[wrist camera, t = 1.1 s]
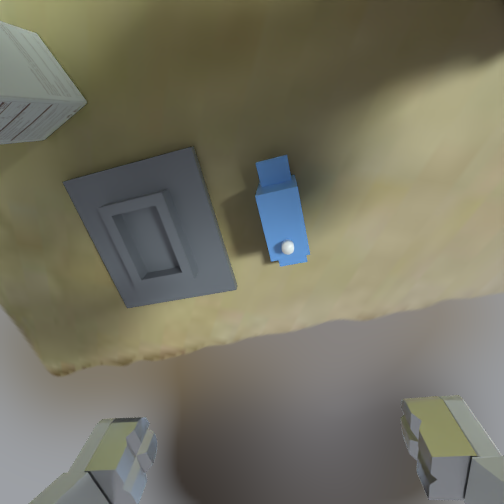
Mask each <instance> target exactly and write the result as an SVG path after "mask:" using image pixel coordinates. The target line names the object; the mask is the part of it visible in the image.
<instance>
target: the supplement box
mask: <svg viewBox="0 0 504 504" xmlns="http://www.w3.org/2000/svg"><path fill="white" fill-rule="evenodd" d="M86 104H87V101H86V100H85V98H84V97H83V96H82V94H81V93H80V91H79V90H78V89H77V87H76V86H75V85H74V83H73V82H72V81H71V79H70V78H69V76H68V75H67V74H66V72H65V71H64V70H63V68H62V67H61V66H60V64H59V63H58V62H57V60H56V59H55V57H54V56H53V55H52V53H51V52H50V51H49V49H48V48H47V47H46V45H45V44H44V43H43V41H42V40H41V38H40V37H39V36H38V34H37V33H34V32H31V31H28V30H25V29H22V28H20V27H17V26H14V25H11V24H8V23H5V22H2V21H0V144H10V143H20V142H31V141H41V140H45V139H46V138H47V137H48V136H49V135H51V134H52V133H53V132H54V131H55V130H57V129H58V128H59V127H60V126H61V125H62V124H64V123H65V122H66V121H67V120H68V119H69V118H71V117H72V116H73V115H74V114H75V113H76V112H78V111H79V110H80V109H81V108H82V107H83V106H85V105H86Z"/></svg>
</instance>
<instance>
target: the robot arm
mask: <svg viewBox="0 0 504 504" xmlns="http://www.w3.org/2000/svg"><path fill="white" fill-rule="evenodd" d="M401 409H402V411H403V413H404V415H403V416H402V417H401V428H402V433H403V437H404V440H405V444H406V446H407V448H408V451H409V454H410V455H411V456H412V457H414V458H415V459H416V460H417V473H418V476H419V478H420V480H421V483H422V485H423V488H424V490H425V492H426V495H427V497H428V500H464V503H465V504H504V456H502V454H501V453H500V452H499V450H498V449H497V447H496V446H495V444H494V443H493V441H492V440H491V438H490V437H489V436H488V434H487V433H486V431H485V430H484V428H483V427H482V426H481V424H480V423H479V421H478V420H477V418H476V417H475V416H474V414H473V413H472V411H471V410H470V408H469V407H468V405H467V404H466V403H465V401H464V400H463V399H462V398H461V397H460V396H459V395H453V396H440V397H437V396H433V397H421V398H411V399H410V398H409V399H402V401H401ZM149 424H150V423H149V422H148V420H147V418H146V417H139V418H115V419H102V420H101V421H100V422H99V423H97V425H96V427H95V428H94V430H93V432H92V433H91V435H90V436H89V438H88V440H87V441H86V443H85V445H84V446H83V448H82V450H81V451H80V453H79V455H78V456H77V458H76V460H75V461H74V463H73V465H72V467H71V468H70V470H69V472H68V473H63V474H62V475H61V476H60V477H58V478H57V479H56V480H55V481H54V482H53V483H52V484H51V485H49V487H47V488H46V489H45V490H44V491H43V492H41V493H40V494H39V495H38V496H37V497H36V498H35V499H34V500H32V501H31V502H30V503H29V504H139V502H140V499H141V496H142V493H143V491H144V488H145V485H146V483H147V477H146V472H147V470H148V469H149V468H150V467H151V466H152V465H153V463H154V460H155V457H156V453H157V438H156V436H155V433H154V432H152V431H151V430H150V429H148V426H149Z"/></svg>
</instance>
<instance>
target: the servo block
mask: <svg viewBox="0 0 504 504" xmlns="http://www.w3.org/2000/svg"><path fill="white" fill-rule="evenodd" d="M256 167H257V171H258V175H259V180H260V183H259V185H258V188H257V192H256V195H255V198H256V202H257V206H258V210H259V214H260V218H261V222H262V226H263V230H264V234H265V238H266V242H267V246H268V250H269V254H270V258H271V262H272V261H277V260H279V264H280V266H286V265H291V264H297V263H302V262H307V257H306V255H310V251H309V245H308V240H307V235H306V229H305V224H304V218H303V213H302V208H301V202H300V197H299V191H298V186H297V182H296V179H295V175H292V176H291V173H290V168H289V163H288V158H287V155H283V156H279V157H275V158H271V159H267V160H263V161H259V162H256Z"/></svg>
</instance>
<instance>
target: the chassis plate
mask: <svg viewBox="0 0 504 504" xmlns="http://www.w3.org/2000/svg"><path fill="white" fill-rule="evenodd" d="M63 184H64V186H65V188H66V190H67V192H68V194H69V196H70V198H71V200H72V202H73V204H74V206H75V208H76V209H77V211H78V213H79V215H80V217H81V219H82V221H83V223H84V225H85V227H86V229H87V231H88V233H89V235H90V237H91V239H92V241H93V243H94V245H95V247H96V248H97V250H98V252H99V254H100V256H101V258H102V260H103V262H104V264H105V266H106V268H107V270H108V272H109V274H110V276H111V278H112V280H113V282H114V284H115V285H116V287H117V289H118V291H119V293H120V295H121V297H122V299H123V301H124V303H125V305H126V307H127V308H132V307H138V306H144V305H149V304H155V303H161V302H167V301H173V300H179V299H185V298H191V297H197V296H203V295H209V294H215V293H220V292H226V291H232V290H236V289H237V283H236V280H235V277H234V273H233V270H232V267H231V264H230V261H229V257H228V254H227V251H226V248H225V245H224V242H223V238H222V235H221V232H220V229H219V226H218V222H217V219H216V216H215V213H214V210H213V206H212V203H211V200H210V197H209V194H208V191H207V187H206V184H205V181H204V178H203V175H202V171H201V168H200V165H199V162H198V159H197V155H196V152H195V149H194V146H192V147H189V148H185V149H181V150H178V151H174V152H170V153H167V154H163V155H159V156H156V157H152V158H148V159H145V160H141V161H137V162H133V163H130V164H126V165H122V166H119V167H115V168H111V169H108V170H104V171H100V172H97V173H93V174H89V175H86V176H82V177H78V178H75V179H71V180H67V181H64V182H63Z"/></svg>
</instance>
